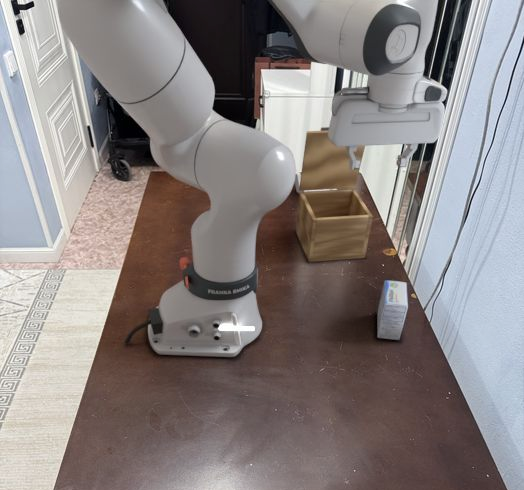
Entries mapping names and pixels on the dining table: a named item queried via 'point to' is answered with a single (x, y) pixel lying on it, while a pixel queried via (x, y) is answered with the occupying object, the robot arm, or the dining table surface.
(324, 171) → the chest lid
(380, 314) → the medicine box
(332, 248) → the chest
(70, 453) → the dining table surface
